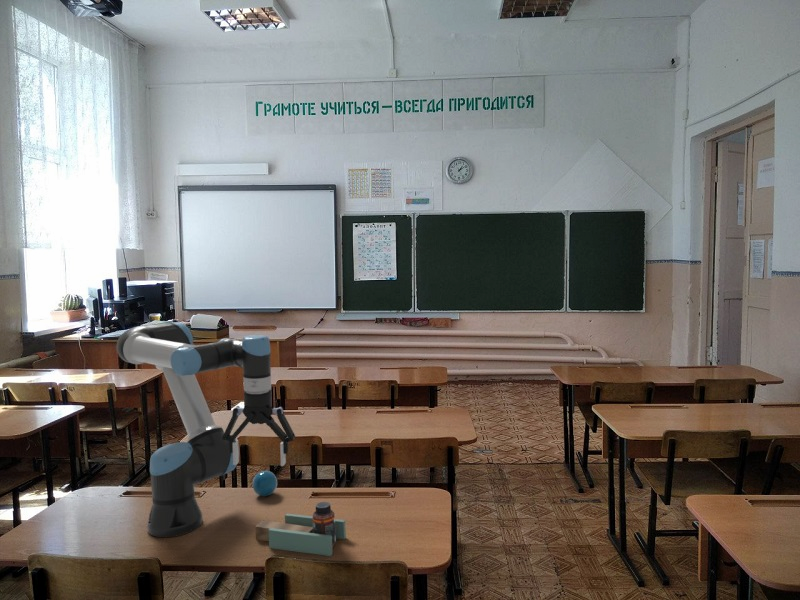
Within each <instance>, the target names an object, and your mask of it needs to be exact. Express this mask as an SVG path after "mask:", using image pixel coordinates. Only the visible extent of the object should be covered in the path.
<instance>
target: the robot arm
mask: <svg viewBox="0 0 800 600" xmlns="http://www.w3.org/2000/svg"><path fill="white" fill-rule="evenodd" d="M193 341H194V337H193V334H192V331H191V330H190V329H189V327H187V325H185V324H184V323H181V322H179V321H176V322H175V321H174V322H170V321H168V322H164V323H157V324H148V325H138V326H133V327H131V328H128V329H127V330H125V331H124V332H123V333H122V334H121V335H120V336H119V338H118V340H117V342H116V352H117V355H118V357H119V358H120V359H121V360H122V361H124V362H126V363H128V364H129V363H130V364H133V365H142V364H149V365H154V367H155V368H156V369H157V370H159V371H162V373H163V375H164V378H165V379H166V382H167V385H168V388H169V390H170V393H171V395H172V398H173V400H174V403H175V405H176V407H177V411H178V413H179V415H180V418H181V421H182V423H183V425H184V428H185V430H186V434H187V436H188V437H187V440H186V441H179V442H176V443H175V442H173V443H169V444H166V445H163V446H162V447H159V448H158V449H156V450H154V452H153V453H152V455H151V456H150V459H149V473H150V486H151V497H152V498H151V499H152V500H151V501H152V504H151V507H150V508H151V509H150V512H149V516H148V519H147V532H148V533H147V534H149V535H151V536H153V537H156V538H173V537H177V536H181V535H182V536H183V535H186V534H188V533H191V532H193V531H194V530H196V529H198V528H199V527H200V526H201V525H202V524H203V512H202V510H201V509H200V506H199V504H198V502H197V498H196V495H195V485H198V484H201V483H204V482H207V481H209V480H212V479H215V478H218V477H223V476H224V475H225V474H226V475H227V474H228V473H231V472H232V471H234V469H236V467H237V465H238V463H239V462H240V446H239V439H237V437H238V436H239V435H240V434H241V432H242V431H243V430H244V429H245V428H246V426H247V425H248V424H249V423H251V424H252V425H256V424H259V425H264V424H265V425H266V426H267V427H269V428H270V430H271V431H272V432H273V433H274V434H275V435H276V436H277V437H278V438H279V440H280V441H281V442H280V443H279V448H280V449H279V450H280V467H284V466H285V465H286V462H287V459H286V458H287V457H286V454H288V453H289V452H290V442H293V441H294V439H296V434H295V432H294V430H293V429H292V427H291V425H290V423H289V421H288V419H287V417H286V416H285V413H284V412H285V411H284V407H283V406H279V407H276V408H273V406H272V401H273V400H272V391H271V389H272V377H271V376H272V374H271V372H272V371H271V369H272V366H271V362H272V361H271V352H272V350H271V344H270V341H271V340H270V338H269V336H267V335H264V334H260V335H259V334H251V335H245V336H244V337H243V338H242V339H237V338H234V337H229V338H227V337H225V338H221V339H220V340H218V341H215V342H210V343H203V344H194V342H193ZM229 367H239V368H242V372H243V374H242V376H243V381H242V382H243V391H244V392H243V405H244V406H243V407H240V406H239V405H237V406H235V407H234V408H233V409H232V416H231V418H230V420H229V423H228V424H227V427H226V429H225V431H224V428H223V427H222V426H219V425H217V424H216V422H215V421H214V418H213V416H212V413H211V411H210V408H209V406H208V404H207V401H206V399H205V396H204V394H203V391H202V389H201V387H200V384H199V381H198V380H197V376H196V375H195V374H199V373H205V372H210V371H214V370H215V371H216V370H219V369H225V368H229ZM242 414H243V415H244V417H245V419H244V420H243V422H242V423H241V424H240V425H239V427H238V428H237V429H236V430H235V431H234V432H233V433H232V431H233V429H234V427H235V425H236V422H237V421H238V419H239V416H241V415H242ZM273 414H274V415H275V416H276V417H277V419H278V422H279V424H280V425H281V426H279V424H278V423H277V422H276V421H275V419H274V417H273V416H272V415H273ZM281 427H282V428H281ZM231 433H232V434H231Z"/></svg>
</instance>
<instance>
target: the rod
mask: <svg viewBox="0 0 800 600" xmlns="http://www.w3.org/2000/svg"><path fill="white" fill-rule="evenodd" d="M270 528H275V529H283V530H291V531H299V532H307V533H313V527H308V526H301V525H294V524H286V523H285V522H279V521H278V522H277V521H271V520H262V521H261V522H259V523H258V524H257V525H255V540H258V541H265V542H269V531H268V530H269V529H270Z"/></svg>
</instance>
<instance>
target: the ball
mask: <svg viewBox="0 0 800 600" xmlns="http://www.w3.org/2000/svg"><path fill="white" fill-rule="evenodd" d="M277 487H278V478H277V477H276V475H275V474H274V472H272V471H269V470H262V471H259V472H258V473H256V474H255V476H254V477H253V479H252V489H253V490H254V492H255V493H256V494H257V495H258V496H261V497H268V496H270V495H272V494H274V492H275V491H276V489H277Z"/></svg>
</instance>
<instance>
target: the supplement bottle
mask: <svg viewBox="0 0 800 600" xmlns="http://www.w3.org/2000/svg"><path fill="white" fill-rule="evenodd" d="M312 516H313V533H315V534H323V535H331V536H332V548H333V547H334V546H335V545H336V543H337V541H336V540H337V539H336V536H335V519H336V518H335V512H334V511H333V510H332V508H331V503H330V502H328V501H319V502H318V503H316V504H315V511H314V512H313V514H312Z"/></svg>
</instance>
